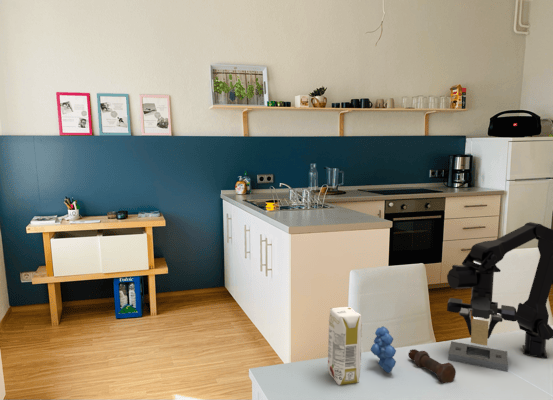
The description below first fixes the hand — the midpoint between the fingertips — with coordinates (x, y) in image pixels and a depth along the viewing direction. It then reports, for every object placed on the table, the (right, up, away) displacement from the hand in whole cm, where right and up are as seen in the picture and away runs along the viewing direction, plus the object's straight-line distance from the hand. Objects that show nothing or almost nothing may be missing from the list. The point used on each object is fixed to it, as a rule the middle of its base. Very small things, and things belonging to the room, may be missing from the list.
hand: (479, 336), depth 135 cm
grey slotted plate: (0, -7, +1) cm, 7 cm away
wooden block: (0, -2, 0) cm, 2 cm away
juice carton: (-43, -8, -12) cm, 45 cm away
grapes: (-31, -8, -6) cm, 33 cm away
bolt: (-17, -8, -7) cm, 20 cm away
